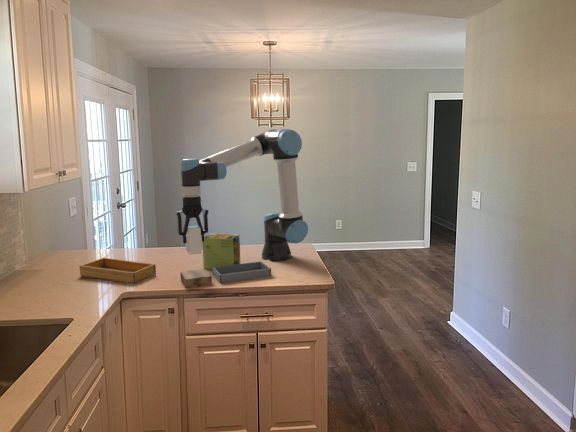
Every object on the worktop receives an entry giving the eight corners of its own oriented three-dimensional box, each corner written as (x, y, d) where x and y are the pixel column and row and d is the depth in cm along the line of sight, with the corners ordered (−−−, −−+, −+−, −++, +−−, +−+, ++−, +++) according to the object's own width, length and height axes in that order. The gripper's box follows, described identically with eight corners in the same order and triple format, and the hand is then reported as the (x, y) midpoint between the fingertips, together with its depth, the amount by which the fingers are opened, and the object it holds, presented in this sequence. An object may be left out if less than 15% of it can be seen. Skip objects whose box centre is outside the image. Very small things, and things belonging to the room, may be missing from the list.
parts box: (198, 250, 210) (197, 225, 208) (201, 253, 205) (200, 227, 203) (187, 251, 209) (185, 226, 207) (189, 254, 203) (188, 228, 201)
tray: (156, 275, 223) (155, 263, 222) (133, 285, 209) (132, 272, 208) (104, 268, 235) (103, 257, 234) (80, 277, 221) (79, 265, 220)
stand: (205, 277, 217) (205, 268, 216) (211, 285, 206) (211, 276, 205) (180, 280, 213) (180, 271, 212) (185, 288, 202) (185, 279, 201)
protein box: (234, 271, 226) (233, 238, 223) (203, 269, 229) (201, 237, 226) (241, 265, 236) (240, 233, 233) (211, 263, 239) (209, 233, 236)
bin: (261, 269, 227) (261, 261, 227) (271, 277, 215) (271, 268, 214) (212, 275, 219) (212, 267, 218) (220, 284, 206) (219, 275, 206)
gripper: (210, 193, 209) (212, 246, 213) (168, 196, 203) (171, 250, 207) (214, 195, 202) (217, 249, 207) (171, 198, 196) (174, 254, 200)
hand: (194, 249), depth 207 cm, fingers closed on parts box, 5 cm apart
